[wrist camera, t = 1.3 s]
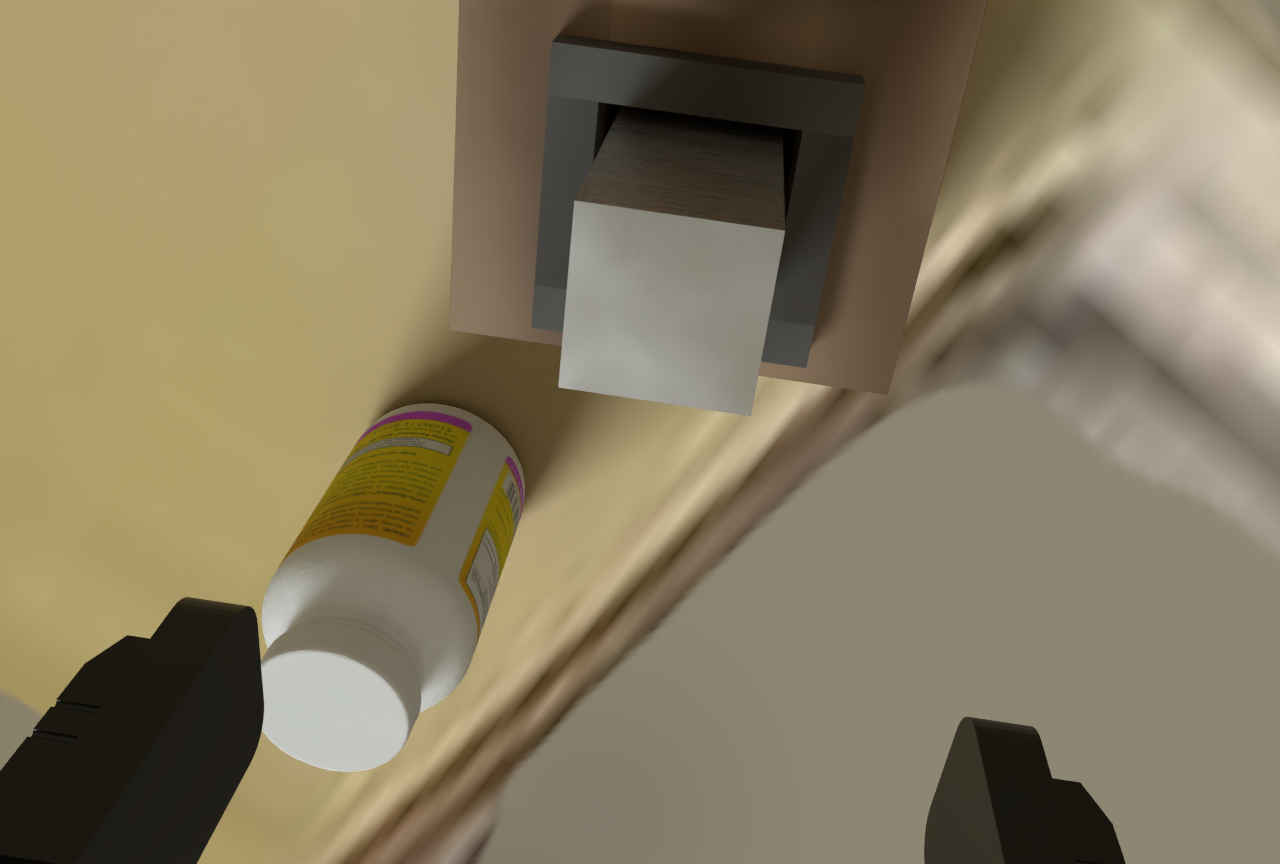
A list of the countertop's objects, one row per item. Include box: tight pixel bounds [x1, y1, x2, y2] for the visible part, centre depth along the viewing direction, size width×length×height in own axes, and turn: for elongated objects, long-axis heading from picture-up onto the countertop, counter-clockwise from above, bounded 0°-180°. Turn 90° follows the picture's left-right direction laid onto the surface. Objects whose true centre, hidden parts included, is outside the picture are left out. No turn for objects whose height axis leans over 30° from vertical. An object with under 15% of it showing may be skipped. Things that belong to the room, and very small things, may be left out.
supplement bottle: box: [261, 403, 525, 772], centre depth 37 cm, size 7×7×13 cm
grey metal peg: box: [558, 105, 785, 416], centre depth 25 cm, size 4×4×8 cm
